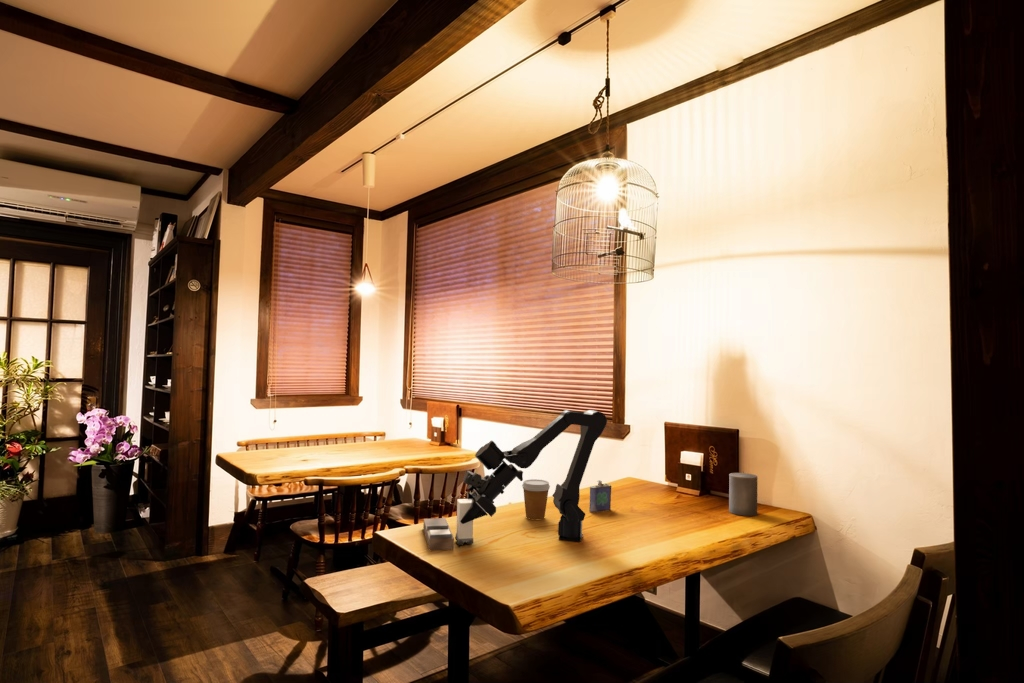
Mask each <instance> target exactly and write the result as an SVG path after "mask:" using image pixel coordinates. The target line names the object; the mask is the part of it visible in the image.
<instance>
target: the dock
mask: <svg viewBox="0 0 1024 683" xmlns="http://www.w3.org/2000/svg"><path fill="white" fill-rule="evenodd" d="M423 533H424V536H425V540H426V545H427V547H428V551H430V550H432V551H446V550H447V551H449V550H450V549H452V550H455V537H454V535H453V532H452V530H451V528H450V525H449V524H448V521H447V518H446V517H440V518H439V517H438V518H437V517H436V518H423ZM430 552H431V551H430Z"/></svg>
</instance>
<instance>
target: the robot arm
mask: <svg viewBox="0 0 1024 683" xmlns="http://www.w3.org/2000/svg"><path fill="white" fill-rule="evenodd" d="M607 424H608V419H607V417H606V414H604V413H603V412H601V411H599V410H593V409H588V410H585V411H584V412H583V411H571V410H567V409H565V410H563V411H562V412H561V413H560V414H559V415H558V416H557V417H556V418H555V419H553V420H552V421H551V422H550V423H549V424H547V425H546V426H545V427H544V428H543V429H542V430H541V431H539V432H538V433H537V434H535V435H534V436H533V437H532V438H531V439H528V440H526V441H523V442H521V443H520V444H518V445H516V446H514V447H513V449H511V450H504V451H502V450H501V449H500V448H499V447H498V445H497V443H496V442H495V441H493V440H490V441H489V442H487V443H485V445H483V446H481V447H479V449H478V450H477V452H475V455H474V457H475V458H476V459H477V460H478V461H479V462H480V463H481V464H482V466H484V467H485V468H486V470H488V471H491V470H492V471H493V472H492V473H491V474H490V475H489V474H487V475H485V476H484V477H483V476H482V475H481V474H480V473H477V472H472V471H470V470H466V472H465V474H464V476H463V479H462V481H463V483H464V484H466V485H467V487H466V489H467V491H466V496H467V497H466V499H471V500H472V505H471V507H470V508H469V510H468V511H467V512H466V514H465V515H464V516H463V518H462V519H461V521H460V522H461V523H462V524H464V523H467V522H469V521H472V520H473V521H474V520H477V519H479V518H482V517H485V516H488V515H489V517H491V518H492V517H493V516H494V515H495V514H496V512H497V507H496V506H495V504H494V503H495V501H494V500H495V499H497V497H498V496H499V495H500V494H501V495H503V494H504V493H505V491H504V490H505V489H506V488H507V487H508V486H509V485H510V483H512V481H514V480H515V479H516V478H517V479H518V480H519V481H520V482H522V481H524V479H523V478H524V477H523V474H524V471H522V470H521V469H528V468H530V467H531V466H532V465H533V464H534V462H536V460H537V459H538V457H539V455H540V454H541V452H542V451H543V450H544V448H546V447H547V446H548V445H549V444H550V443H552V442H553V441H554V440H555V439H556V438H557V437H558V436H560V435H561V434H562V433H563V432H564V431H566V430H567V429H568V428H569V427H570V426H571V425H575V426H579V427H580V428H579V429H580V430H579V431H580V437H579V441H578V442H577V446H576V449H575V451H574V454H573V457H572V461H571V463H570V466H569V469H568V471H567V475H566V477H565V480H564V481H563V482H562V484H559V483H556V485H555V489H554V493H553V494H552V495H551V496H552V497H553V498H552V499H553V500H552V501H553V504H554V505H553V506H554V507H555V508H556V509H557V510H558V512H559V515H561V516H560V519H559V520H558V523H557V524H558V525H557V529H558V530H557V534H558V535H557V536H558V540H560V539H562V540H563V541H571V542H581V541H582V538H583V537H584V534H583V521H584V520H585V517H586V513H585V512H584V511H583V509H581V507H580V506H579V502H580V497H581V496H580V486H581V483H582V480H583V477H584V474H585V472H586V469H587V465H588V463H589V460H590V456H591V454H592V451H593V449H594V445H595V442H596V441H597V440H598V439H599V438H600V436H601V435H602V434H603V432H604V430H605V428H606V426H607ZM504 459H505V460H506V461H507V462H508V463H510V464H508V463H507V462H506V461H505V460H504ZM513 464H514V465H515V466H514V465H513ZM516 466H517V467H518V468H520V470H518V468H516ZM562 540H561V541H562Z"/></svg>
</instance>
